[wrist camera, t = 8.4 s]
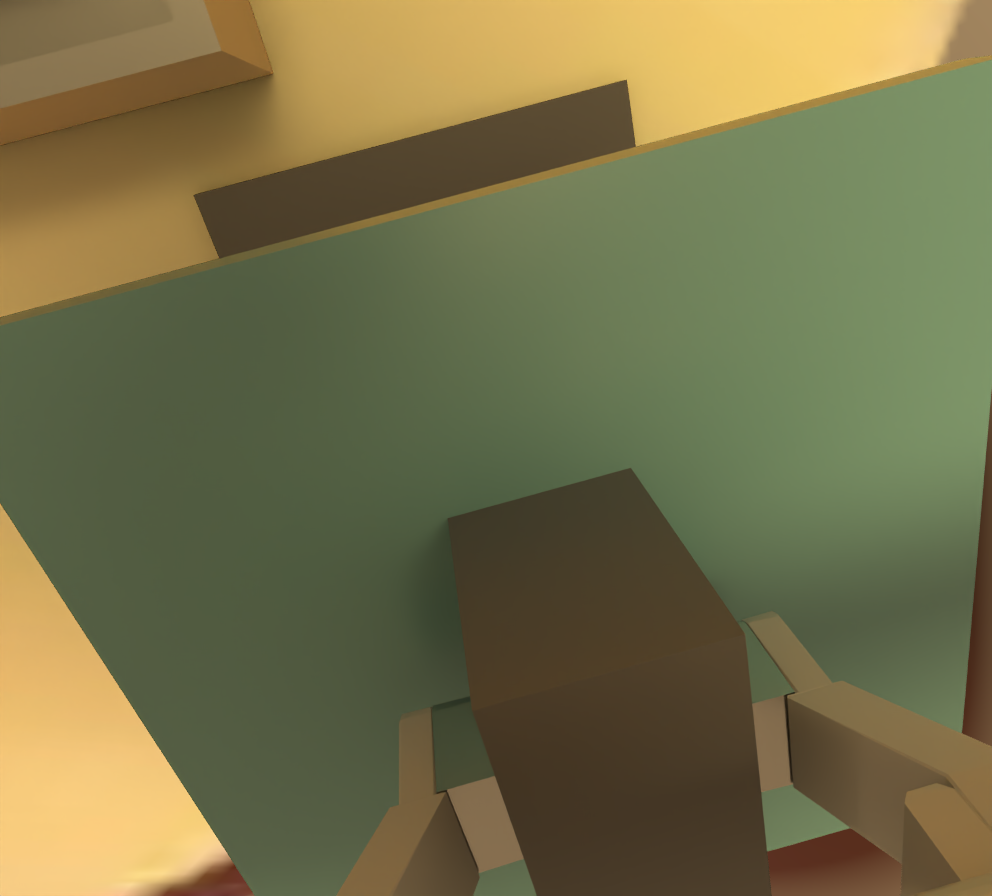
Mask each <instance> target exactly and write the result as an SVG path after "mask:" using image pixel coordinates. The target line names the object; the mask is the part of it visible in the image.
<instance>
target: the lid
mask: <svg viewBox="0 0 992 896" xmlns="http://www.w3.org/2000/svg"><path fill="white" fill-rule="evenodd" d="M991 388H992V55H991V56H983V57H975V58H967V59H962V60H958V61H954V62H950V63H947V64H943V65H939V66H935V67H932V68H928V69H924V70H921V71H917V72H913V73H909V74H906V75H902V76H898V77H894V78H891V79H887V80H883V81H880V82H876V83H872V84H868V85H865V86H861V87H857V88H853V89H850V90H846V91H842V92H839V93H835V94H831V95H827V96H824V97H820V98H816V99H812V100H809V101H805V102H801V103H798V104H794V105H790V106H786V107H783V108H779V109H775V110H771V111H768V112H764V113H760V114H757V115H753V116H749V117H745V118H742V119H738V120H734V121H730V122H727V123H723V124H719V125H715V126H712V127H708V128H704V129H701V130H697V131H693V132H689V133H686V134H682V135H678V136H674V137H671V138H667V139H663V140H660V141H656V142H652V143H648V144H645V145H641V146H637V147H633V148H630V149H626V150H622V151H619V152H615V153H611V154H607V155H604V156H600V157H596V158H592V159H589V160H585V161H581V162H578V163H574V164H570V165H566V166H563V167H559V168H555V169H551V170H548V171H544V172H540V173H537V174H533V175H529V176H525V177H522V178H518V179H514V180H510V181H507V182H503V183H499V184H496V185H492V186H488V187H484V188H481V189H477V190H473V191H469V192H466V193H462V194H458V195H455V196H451V197H447V198H443V199H440V200H436V201H432V202H428V203H425V204H421V205H417V206H413V207H410V208H406V209H402V210H399V211H395V212H391V213H387V214H384V215H380V216H376V217H372V218H369V219H365V220H361V221H358V222H354V223H350V224H346V225H343V226H339V227H335V228H331V229H328V230H324V231H320V232H317V233H313V234H309V235H305V236H302V237H298V238H294V239H290V240H287V241H283V242H279V243H276V244H272V245H268V246H264V247H261V248H257V249H253V250H249V251H246V252H242V253H238V254H235V255H231V256H227V257H223V258H220V259H216V260H212V261H208V262H205V263H201V264H197V265H194V266H190V267H186V268H182V269H179V270H175V271H171V272H167V273H164V274H160V275H156V276H152V277H149V278H145V279H141V280H138V281H134V282H130V283H126V284H123V285H119V286H115V287H111V288H108V289H104V290H100V291H97V292H93V293H89V294H85V295H82V296H78V297H74V298H70V299H67V300H63V301H59V302H56V303H52V304H48V305H44V306H41V307H37V308H33V309H29V310H26V311H22V312H18V313H15V314H11V315H7V316H3V317H0V504H1V505H2V507H3V508H4V510H5V511H6V513H7V514H8V516H9V517H10V519H11V520H12V522H13V524H14V525H15V527H16V528H17V530H18V531H19V533H20V534H21V536H22V537H23V539H24V541H25V542H26V544H27V545H28V547H29V548H30V550H31V551H32V553H33V554H34V556H35V557H36V559H37V561H38V562H39V564H40V565H41V567H42V568H43V570H44V571H45V573H46V574H47V576H48V578H49V579H50V581H51V582H52V584H53V585H54V587H55V588H56V590H57V591H58V593H59V594H60V596H61V598H62V599H63V601H64V602H65V604H66V605H67V607H68V608H69V610H70V611H71V613H72V615H73V616H74V618H75V619H76V621H77V622H78V624H79V625H80V627H81V628H82V630H83V631H84V633H85V635H86V636H87V638H88V639H89V641H90V642H91V644H92V645H93V647H94V648H95V650H96V652H97V653H98V655H99V656H100V658H101V659H102V661H103V662H104V664H105V665H106V667H107V668H108V670H109V672H110V673H111V675H112V676H113V678H114V679H115V681H116V682H117V684H118V685H119V687H120V689H121V690H122V692H123V693H124V695H125V696H126V698H127V699H128V701H129V702H130V704H131V705H132V707H133V709H134V710H135V712H136V713H137V715H138V716H139V718H140V719H141V721H142V722H143V724H144V726H145V727H146V729H147V730H148V732H149V733H150V735H151V736H152V738H153V739H154V741H155V742H156V744H157V746H158V747H159V749H160V750H161V752H162V753H163V755H164V756H165V758H166V759H167V761H168V763H169V764H170V766H171V767H172V769H173V770H174V772H175V773H176V775H177V776H178V778H179V779H180V781H181V783H182V784H183V786H184V787H185V789H186V790H187V792H188V793H189V795H190V796H191V798H192V800H193V801H194V803H195V804H196V806H197V807H198V809H199V810H200V812H201V813H202V815H203V816H204V818H205V820H206V821H207V823H208V824H209V826H210V827H211V829H212V830H213V832H214V833H215V835H216V837H217V838H218V840H219V841H220V843H221V844H222V846H223V847H224V849H225V850H226V852H227V853H228V855H229V857H230V858H231V860H232V861H233V863H234V864H235V866H236V867H237V869H238V870H239V872H240V874H241V875H242V877H243V878H244V880H245V881H246V883H247V884H248V886H249V887H250V889H251V890H252V892H253V894H254V895H255V896H336V895H337V893H338V892H339V890H340V889H341V887H342V885H343V884H344V882H345V880H346V879H347V877H348V875H349V874H350V872H351V870H352V869H353V867H354V865H355V864H356V862H357V861H358V859H359V857H360V856H361V854H362V852H363V851H364V849H365V847H366V846H367V844H368V842H369V841H370V839H371V837H372V836H373V834H374V832H375V831H376V829H377V828H378V826H379V824H380V823H381V821H382V819H383V818H384V816H385V814H386V813H387V811H388V809H389V808H390V807H393V806H397V805H399V721H400V718H401V715H402V714H404V713H408V712H412V711H416V710H420V709H424V708H428V707H432V706H433V705H437V704H441V703H445V702H449V701H453V700H457V699H461V698H465V697H469V696H470V699H471V706H472V712H473V715H474V718H475V720H476V723H477V726H478V729H479V732H480V735H481V738H482V740H483V743H484V746H485V749H486V752H487V755H488V758H489V761H490V763H491V766H492V769H493V772H494V775H495V778H496V781H497V783H498V786H499V789H500V792H501V795H502V798H503V801H504V803H505V806H506V809H507V812H508V815H509V818H510V821H511V823H512V826H513V829H514V832H515V835H516V838H517V841H518V843H519V846H520V849H521V852H522V855H523V858H524V859H522V860H519V861H516V862H513V863H509V864H506V865H503V866H500V867H497V868H493V869H490V870H487V871H484V872H481V873H479V876H480V878H479V881H478V884H477V886H476V889H475V892H474V894H473V896H772V895H771V885H770V876H769V865H768V856H767V851H771V850H774V849H778V848H781V847H785V846H788V845H792V844H795V843H799V842H802V841H806V840H809V839H813V838H816V837H820V836H824V835H827V834H831V833H834V832H838V831H841V830H844V829H848V828H850V827H849V826H847V825H846V824H844V823H843V822H842V821H840V820H839V819H837V818H836V817H835V816H833V815H832V814H830V813H829V812H828V811H826V810H825V809H823V808H822V807H820V806H819V805H818V804H816V803H815V802H813V801H812V800H811V799H809V798H808V797H806V796H805V795H803V794H802V793H801V792H799V791H798V790H796V789H795V788H794V787H793V784H792V785H788V786H784V787H780V788H776V789H772V790H768V791H764V792H761V785H760V775H759V765H758V755H757V745H756V736H755V726H754V716H753V706H752V696H751V686H750V676H749V666H748V656H747V646H746V636H745V633H744V631H743V630H742V629H741V627H740V626H739V624H738V623H737V621H741V620H742V619H746V618H749V617H753V616H756V615H760V614H763V613H766V612H770V611H773V612H775V613H777V614H778V615H779V616H780V617H781V619H782V620H783V621H784V622H785V624H786V625H787V626H788V627H789V629H790V630H791V631H792V632H793V634H794V635H795V636H796V638H797V639H798V640H799V641H800V643H801V644H802V645H803V646H804V648H805V649H806V650H807V651H808V653H809V654H810V655H811V656H812V658H813V659H814V660H815V661H816V663H817V664H818V665H819V666H820V668H821V669H822V670H823V671H824V673H825V674H826V675H827V677H828V678H829V679H830V680H831V682H832V683H835V682H839V681H844V682H847V683H849V684H851V685H853V686H856V687H858V688H860V689H862V690H865V691H867V692H869V693H871V694H874V695H876V696H878V697H880V698H883V699H885V700H887V701H889V702H892V703H894V704H896V705H898V706H901V707H903V708H905V709H907V710H910V711H912V712H914V713H917V714H919V715H921V716H923V717H926V718H928V719H930V720H932V721H935V722H937V723H939V724H941V725H944V726H946V727H948V728H950V729H953V730H955V731H957V732H959V733H962V723H963V713H964V701H965V689H966V678H967V677H966V676H967V665H968V654H969V643H970V631H971V619H972V607H973V596H974V584H975V573H976V562H977V550H978V538H979V527H980V515H981V504H982V492H983V481H984V469H985V457H986V445H987V433H988V422H989V411H990V399H991Z"/></svg>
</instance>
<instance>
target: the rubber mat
mask: <svg viewBox="0 0 992 896" xmlns="http://www.w3.org/2000/svg"><path fill="white" fill-rule="evenodd" d="M633 147H636V145H635V138H634V130H633V123H632V115H631V108H630V101H629V93H628V86H627V80H624V81H620V82H616V83H612V84H609V85H605V86H601V87H597V88H594V89H590V90H586V91H582V92H579V93H575V94H571V95H567V96H564V97H560V98H556V99H552V100H548V101H545V102H541V103H537V104H533V105H530V106H526V107H522V108H518V109H515V110H511V111H507V112H503V113H500V114H496V115H492V116H488V117H485V118H481V119H477V120H473V121H470V122H466V123H462V124H458V125H455V126H451V127H447V128H443V129H439V130H436V131H432V132H428V133H424V134H421V135H417V136H413V137H409V138H406V139H402V140H398V141H394V142H391V143H387V144H383V145H379V146H376V147H372V148H368V149H364V150H361V151H357V152H353V153H349V154H346V155H342V156H338V157H334V158H330V159H327V160H323V161H319V162H315V163H312V164H308V165H304V166H300V167H297V168H293V169H289V170H285V171H282V172H278V173H274V174H270V175H267V176H263V177H259V178H255V179H252V180H248V181H244V182H240V183H237V184H233V185H229V186H225V187H221V188H218V189H214V190H210V191H206V192H203V193H199V194H195V195H194V197H195V200H196V202H197V205H198V207H199V210H200V212H201V214H202V217H203V219H204V222H205V224H206V227H207V229H208V232H209V234H210V236H211V239H212V241H213V244H214V246H215V249H216V251H217V253H218V256H219V258H223V257H227V256H231V255H235V254H238V253H242V252H246V251H249V250H253V249H257V248H261V247H264V246H268V245H272V244H276V243H279V242H283V241H287V240H290V239H294V238H298V237H302V236H305V235H309V234H313V233H317V232H320V231H324V230H328V229H331V228H335V227H339V226H343V225H346V224H350V223H354V222H358V221H361V220H365V219H369V218H372V217H376V216H380V215H384V214H387V213H391V212H395V211H399V210H402V209H406V208H410V207H413V206H417V205H421V204H425V203H428V202H432V201H436V200H440V199H443V198H447V197H451V196H455V195H458V194H462V193H466V192H469V191H473V190H477V189H481V188H484V187H488V186H492V185H496V184H499V183H503V182H507V181H510V180H514V179H518V178H522V177H525V176H529V175H533V174H537V173H540V172H544V171H548V170H551V169H555V168H559V167H563V166H566V165H570V164H574V163H578V162H581V161H585V160H589V159H592V158H596V157H600V156H604V155H607V154H611V153H615V152H619V151H622V150H626V149H630V148H633Z"/></svg>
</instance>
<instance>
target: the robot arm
mask: <svg viewBox="0 0 992 896" xmlns="http://www.w3.org/2000/svg"><path fill="white" fill-rule="evenodd" d="M737 623H738V624H739V626H740V627H741V629H742V630H743V631H744V633H745V636H746V646H747V656H748V666H749V676H750V686H751V696H752V706H753V716H754V726H755V736H756V745H757V755H758V765H759V775H760V785H761V792H764V791H768V790H772V789H776V788H780V787H784V786H788V785H792V784H793V787H794V788H795V789H796V790H798V791H799V792H801V793H802V794H803V795H805V796H806V797H808V798H809V799H811V800H812V801H813V802H815V803H816V804H818V805H819V806H820V807H822V808H823V809H825V810H826V811H828V812H829V813H830V814H832V815H833V816H835V817H836V818H837V819H839V820H840V821H842V822H843V823H844V824H846V825H847V826H849V827H850V828H852V829H853V830H854V831H856V832H857V833H859V834H860V835H861V836H863V837H864V838H866V839H867V840H869V841H870V842H871V843H873V844H875V845H876V846H877V847H879V848H880V849H881V850H883V851H884V852H886V853H887V854H888V855H890V856H891V857H893V858H894V859H895V860H897V861H898V862H900V863H901V864H902V877H901V896H992V747H991V746H989V745H987V744H984V743H982V742H980V741H977V740H975V739H973V738H971V737H968V736H966V735H964V734H962V733H959V732H957V731H955V730H953V729H950V728H948V727H946V726H944V725H941V724H939V723H937V722H935V721H932V720H930V719H928V718H926V717H923V716H921V715H919V714H917V713H914V712H912V711H910V710H907V709H905V708H903V707H901V706H898V705H896V704H894V703H892V702H889V701H887V700H885V699H883V698H880V697H878V696H876V695H874V694H871V693H869V692H867V691H865V690H862V689H860V688H858V687H856V686H853V685H851V684H849V683H847V682H844V681H839V682H835V683H832V682H831V680H830V679H829V678H828V677H827V675H826V674H825V673H824V671H823V670H822V669H821V668H820V666H819V665H818V664H817V663H816V661H815V660H814V659H813V658H812V656H811V655H810V654H809V653H808V651H807V650H806V649H805V648H804V646H803V645H802V644H801V643H800V641H799V640H798V639H797V638H796V636H795V635H794V634H793V632H792V631H791V630H790V629H789V627H788V626H787V625H786V624H785V622H784V621H783V620H782V619H781V617H780V616H779V615H778V614H777V613H775V612H773V611H770V612H766V613H763V614H760V615H756V616H753V617H749V618H746V619H742V620H741V621H737ZM522 859H524V858H523V855H522V852H521V849H520V846H519V843H518V841H517V838H516V835H515V832H514V829H513V826H512V823H511V821H510V818H509V815H508V812H507V809H506V806H505V803H504V801H503V798H502V795H501V792H500V789H499V786H498V783H497V781H496V778H495V775H494V772H493V769H492V766H491V763H490V761H489V758H488V755H487V752H486V749H485V746H484V743H483V740H482V738H481V735H480V732H479V729H478V726H477V723H476V720H475V718H474V715H473V712H472V706H471V699H470V696H469V697H465V698H461V699H457V700H453V701H449V702H445V703H441V704H437V705H433V706H432V707H428V708H424V709H420V710H416V711H412V712H408V713H404V714H402V715H401V718H400V721H399V805H397V806H393V807H390V808H389V809H388V811H387V813H386V814H385V816H384V818H383V819H382V821H381V823H380V824H379V826H378V828H377V829H376V831H375V832H374V834H373V836H372V837H371V839H370V841H369V842H368V844H367V846H366V847H365V849H364V851H363V852H362V854H361V856H360V857H359V859H358V861H357V862H356V864H355V865H354V867H353V869H352V870H351V872H350V874H349V875H348V877H347V879H346V880H345V882H344V884H343V885H342V887H341V889H340V890H339V892H338V893H337V895H336V896H473V894H474V892H475V889H476V886H477V884H478V881H479V878H480V876H479V873H481V872H484V871H487V870H490V869H493V868H497V867H500V866H503V865H506V864H509V863H513V862H516V861H519V860H522Z"/></svg>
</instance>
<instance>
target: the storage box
mask: <svg viewBox="0 0 992 896" xmlns="http://www.w3.org/2000/svg"><path fill="white" fill-rule="evenodd" d="M270 74H273V71H272V68H271V65H270V62H269V59H268V56H267V53H266V50H265V47H264V44H263V41H262V38H261V35H260V32H259V29H258V26H257V23H256V20H255V17H254V14H253V11H252V8H251V6H250V3H249V0H0V145H4V144H7V143H11V142H15V141H19V140H23V139H26V138H30V137H34V136H38V135H42V134H45V133H49V132H53V131H57V130H61V129H64V128H68V127H72V126H76V125H80V124H83V123H87V122H91V121H95V120H99V119H102V118H106V117H110V116H114V115H118V114H121V113H125V112H129V111H133V110H137V109H141V108H144V107H148V106H152V105H156V104H160V103H163V102H167V101H171V100H175V99H179V98H182V97H186V96H190V95H194V94H198V93H201V92H205V91H209V90H213V89H217V88H220V87H224V86H228V85H232V84H236V83H239V82H243V81H247V80H251V79H255V78H258V77H262V76H266V75H270Z"/></svg>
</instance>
